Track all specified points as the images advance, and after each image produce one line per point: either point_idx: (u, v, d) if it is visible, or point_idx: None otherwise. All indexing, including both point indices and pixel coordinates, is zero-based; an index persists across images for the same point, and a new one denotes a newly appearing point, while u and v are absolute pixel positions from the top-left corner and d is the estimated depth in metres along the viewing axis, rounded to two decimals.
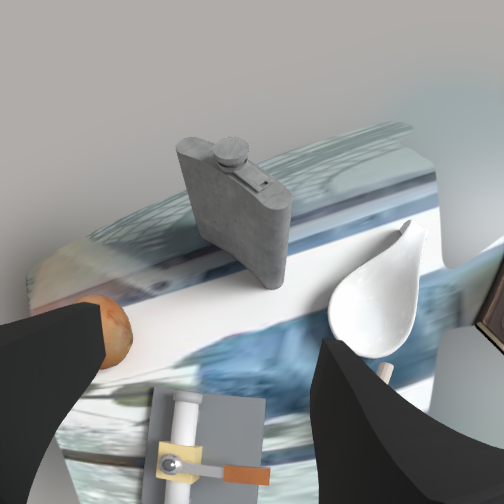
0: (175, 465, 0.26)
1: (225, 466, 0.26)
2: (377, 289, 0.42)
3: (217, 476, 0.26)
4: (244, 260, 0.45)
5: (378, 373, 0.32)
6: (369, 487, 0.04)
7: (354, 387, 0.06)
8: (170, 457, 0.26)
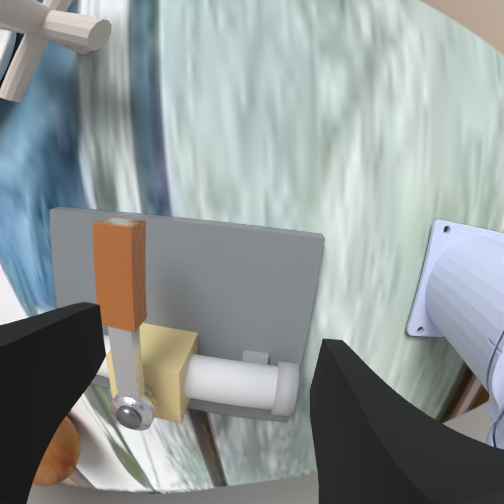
0: (124, 408, 0.14)
1: None
2: None
3: (129, 338, 0.13)
4: None
5: (5, 27, 0.11)
6: (369, 487, 0.04)
7: (354, 387, 0.06)
8: (115, 410, 0.14)
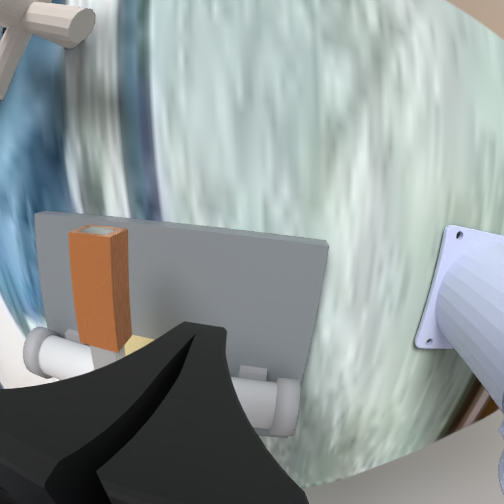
0: None
1: (82, 339, 0.11)
2: None
3: (112, 358, 0.11)
4: None
5: None
6: None
7: (185, 368, 0.06)
8: None
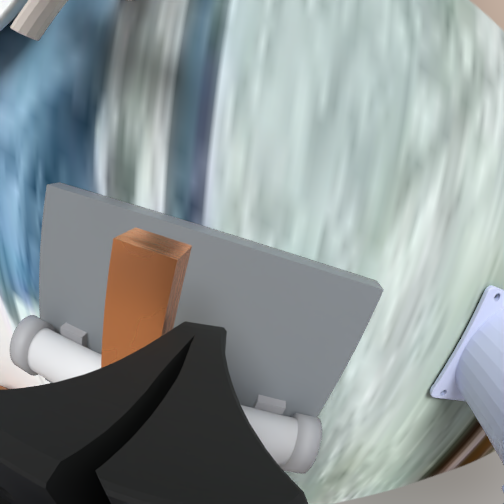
0: None
1: None
2: None
3: None
4: None
5: None
6: None
7: (185, 368, 0.06)
8: None
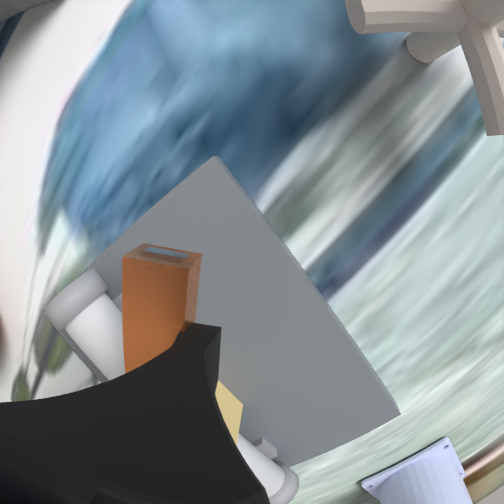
0: None
1: None
2: None
3: None
4: (5, 5, 0.11)
5: None
6: None
7: (165, 365, 0.06)
8: None
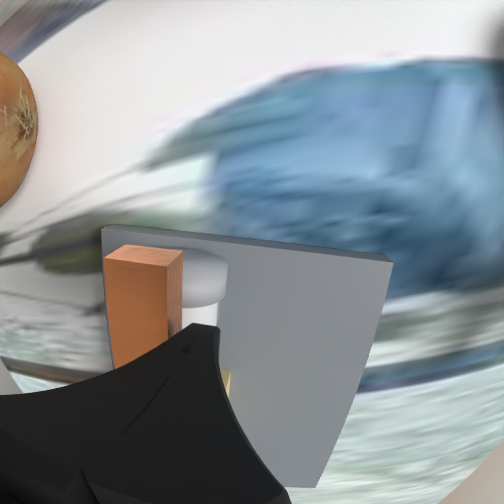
0: None
1: None
2: None
3: None
4: None
5: None
6: None
7: (176, 367, 0.06)
8: None
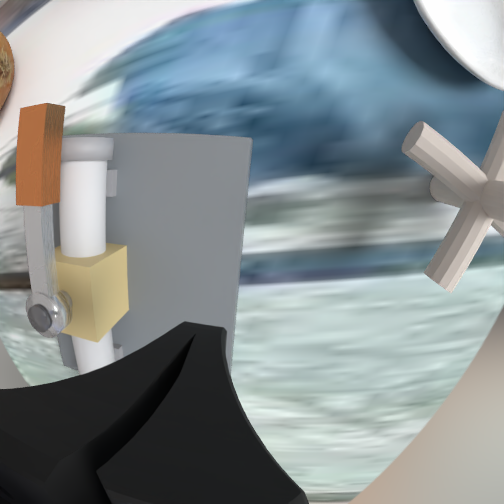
0: (35, 305, 0.13)
1: (18, 202, 0.12)
2: None
3: (39, 218, 0.12)
4: None
5: None
6: None
7: (185, 368, 0.06)
8: None
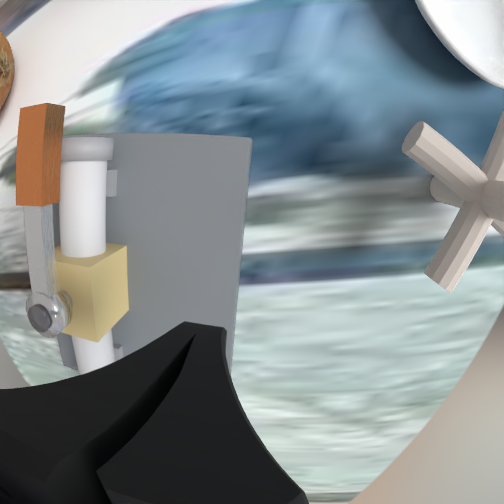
0: (35, 305, 0.13)
1: (18, 202, 0.12)
2: None
3: (39, 218, 0.12)
4: None
5: None
6: None
7: (185, 368, 0.06)
8: None
